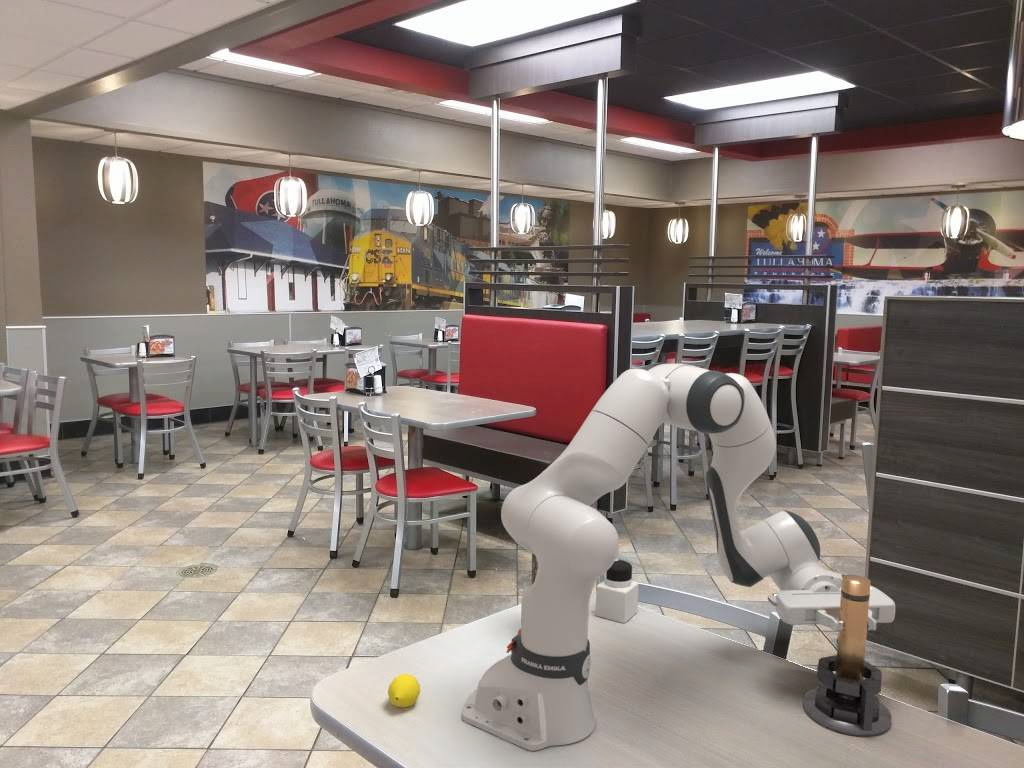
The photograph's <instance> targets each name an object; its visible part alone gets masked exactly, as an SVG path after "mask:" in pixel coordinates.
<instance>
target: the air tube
mask: <svg viewBox="0 0 1024 768" xmlns="http://www.w3.org/2000/svg"><path fill="white" fill-rule="evenodd" d="M871 582H872V581H871V580H870V579H869V578H867V577H865V576H863V575H858V574H844V576H842V587H841V601H840V616H839V618H840V620H842V621H843V631H837V647H836V655H837V659H836V671H835V674H836V675H838V676H839V677H843V678H848V679H853V680H857V681H858V680H863V679H865V678H864V664H865V661H866V647H867V638H868V637H867V636H868V635H867V634H868V630H867V623H868V610H869V598H870V586H871ZM838 693H839V692H838ZM839 694H841V695H843V696H847V697H857V696H853V695H848V694H844V693H839ZM859 697H860V695H859Z"/></svg>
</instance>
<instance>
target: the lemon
mask: <svg viewBox="0 0 1024 768" xmlns="http://www.w3.org/2000/svg"><path fill="white" fill-rule="evenodd" d="M388 685H389V686H388V689H387V694H388V698H389V701H390V702H391V704H392V705H393V706H395V707H398V708H403V709H404V708H408V707H411V706H412V705H414V704H415V703H416V702H417V701H418V698H419V696H420V693H421V684H420V683H419V681H418V679H417V678H416V676H413V675H411V674H409V673H401V674H399V675H398V676H396V677H394V678H393V680H392V681H391V682H390V684H388Z"/></svg>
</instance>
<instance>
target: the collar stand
mask: <svg viewBox="0 0 1024 768" xmlns="http://www.w3.org/2000/svg"><path fill="white" fill-rule="evenodd" d="M836 659H837V654H835V655H830V656H823V657H820V658H819V659H818V664H817V667H816V668H817V669H816V679H817V681H818V682H820V683H821V684H820V683H819V684H818V685H817V686H816V688H814V689H811V690H809V691H807V692H806V693H805V695H804V696H803V701H802V703H803V704H802V708H803V710H804V712H805V714H806V715H807V716H808V718H809V719H811V720H812V721H813V722H815V723H816V724H818V725H820V726H821V727H822V728H823V727H824V728H825V729H827V730H830V731H833V732H835V733H838V734H842V735H847V736H852V737H857V738H858V737H859V738H865V737H866V738H868V737H872V738H873V737H876V736H877V737H879V736H881V735H883V734H886V733H887V732H888V731H889V730H890V728H892V713H891V712H890V709H888V707H886V706H885V705H884V704H883V703H882V702H880V700H881V699H880V698H879V697H878V696H877V695H878V694H880V693H881V692H882V679H883V678H882V677H883V676H882V674H883V672H882V671H881V669H879V668H878V667H876V666H875V665H873V664H871V663H870V662H868V661H867V660H865V664H864V678H863V680H858V681H857V680H853V679H848V678H843V677H839V676H838V675H836ZM838 692H839V693H844V694H848V695H853V696H857V697H847V696H843V695H841V694H839V693H838ZM859 695H860V697H859Z"/></svg>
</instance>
